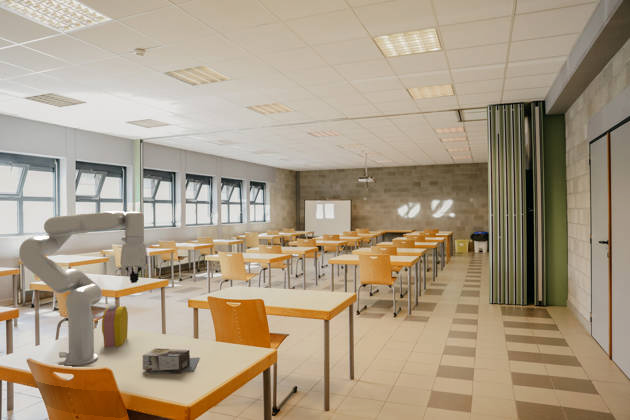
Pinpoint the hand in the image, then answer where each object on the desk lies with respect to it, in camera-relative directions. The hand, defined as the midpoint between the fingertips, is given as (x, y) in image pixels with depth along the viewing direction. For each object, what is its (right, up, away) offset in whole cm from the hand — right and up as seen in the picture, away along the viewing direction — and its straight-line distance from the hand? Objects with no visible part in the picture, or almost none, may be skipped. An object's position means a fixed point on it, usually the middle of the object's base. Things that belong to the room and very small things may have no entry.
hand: (134, 282), depth 182 cm
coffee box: (+10, -30, -10) cm, 33 cm away
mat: (+21, -33, -8) cm, 40 cm away
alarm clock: (-20, -34, +24) cm, 46 cm away
